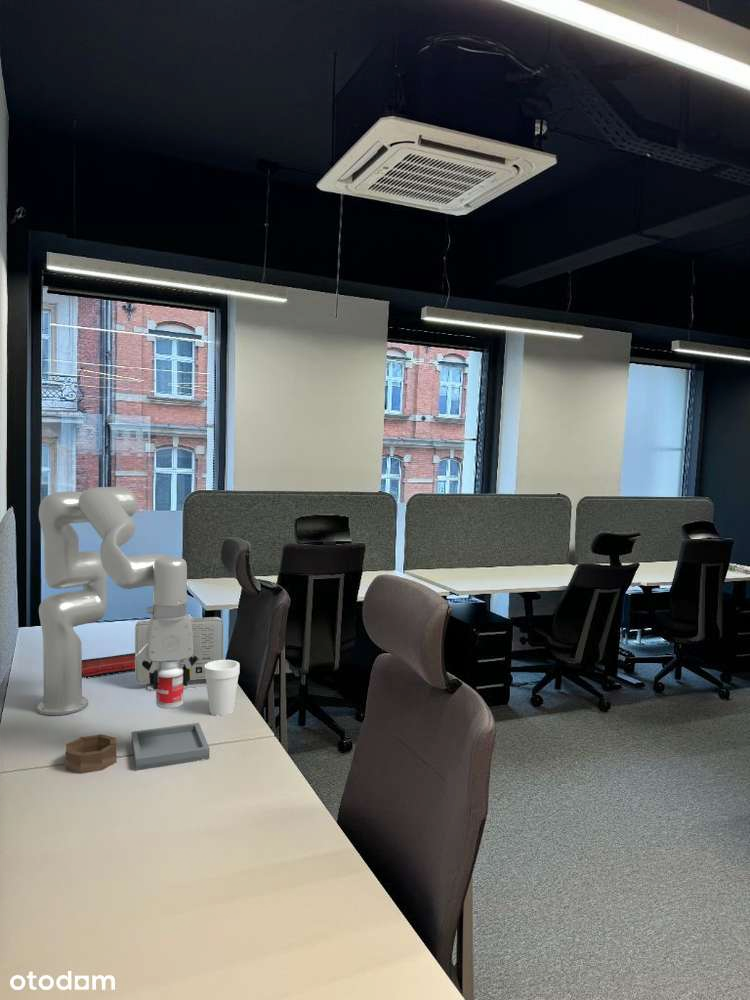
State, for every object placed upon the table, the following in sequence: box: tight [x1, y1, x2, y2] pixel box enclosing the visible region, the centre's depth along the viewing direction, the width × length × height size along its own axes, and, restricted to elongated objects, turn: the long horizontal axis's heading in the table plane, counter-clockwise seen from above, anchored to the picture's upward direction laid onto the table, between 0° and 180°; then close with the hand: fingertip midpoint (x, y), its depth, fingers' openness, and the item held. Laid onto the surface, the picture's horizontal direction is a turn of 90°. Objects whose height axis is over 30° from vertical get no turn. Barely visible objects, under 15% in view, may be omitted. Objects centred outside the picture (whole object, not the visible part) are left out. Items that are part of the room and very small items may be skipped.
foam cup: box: [205, 659, 241, 716], centre depth 180 cm, size 10×9×13 cm
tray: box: [130, 722, 211, 771], centre depth 156 cm, size 16×16×2 cm
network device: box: [134, 616, 224, 692], centre depth 200 cm, size 26×9×20 cm, turn 108°
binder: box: [82, 652, 135, 679], centre depth 216 cm, size 16×2×21 cm
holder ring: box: [65, 734, 118, 774], centre depth 149 cm, size 10×10×4 cm
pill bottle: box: [155, 660, 184, 710], centre depth 155 cm, size 6×6×11 cm
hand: (169, 685), depth 155 cm, fingers closed on pill bottle, 6 cm apart
